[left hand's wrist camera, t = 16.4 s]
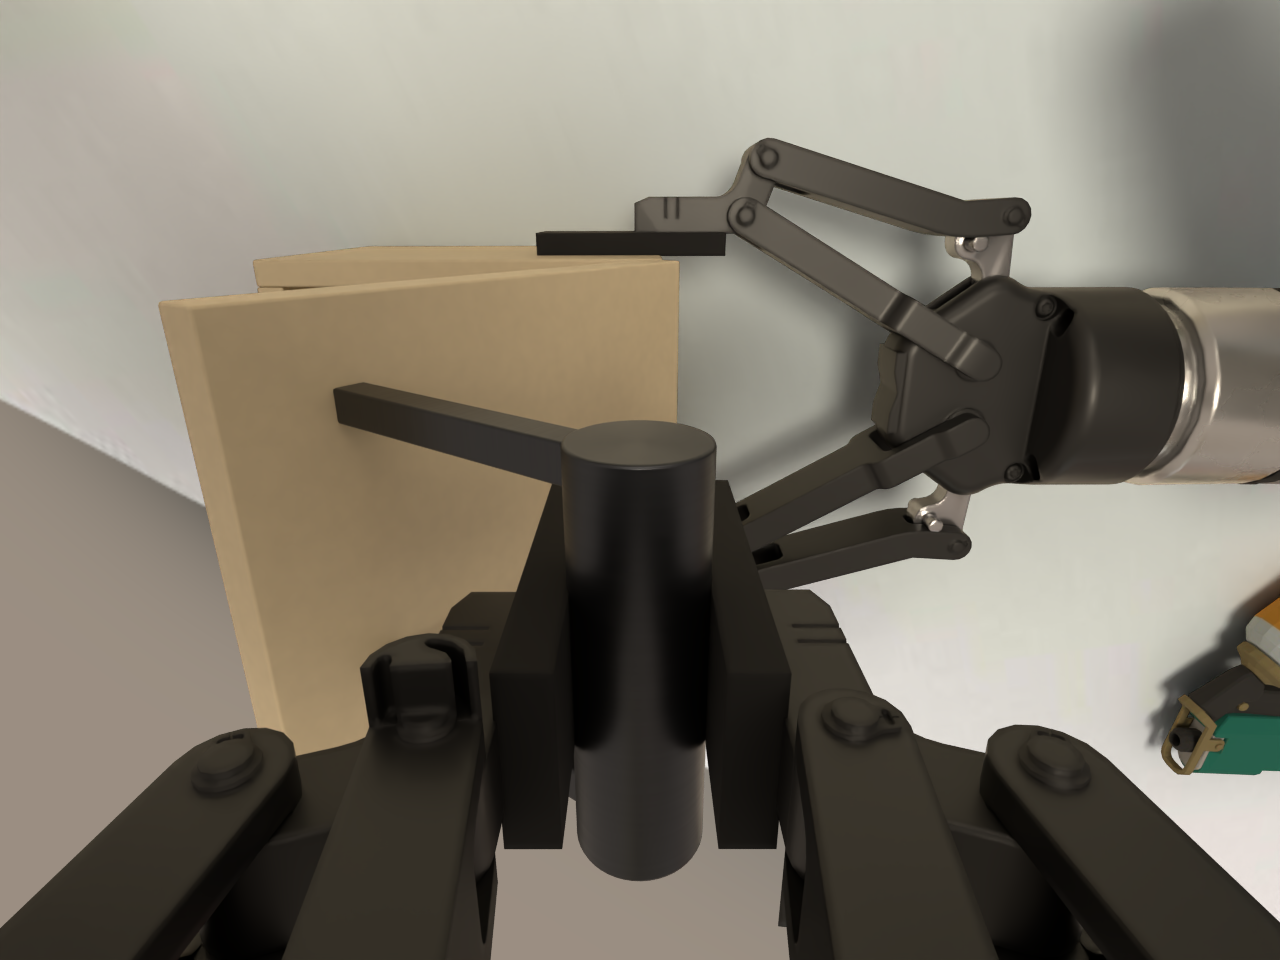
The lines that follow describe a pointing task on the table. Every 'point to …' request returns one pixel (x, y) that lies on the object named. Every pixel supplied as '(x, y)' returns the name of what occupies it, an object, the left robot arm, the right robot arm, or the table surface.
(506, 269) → the chest
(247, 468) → the lid
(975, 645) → the table surface
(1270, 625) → the spray gun
